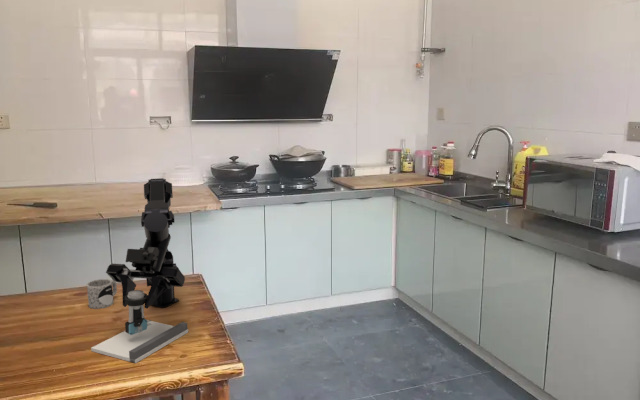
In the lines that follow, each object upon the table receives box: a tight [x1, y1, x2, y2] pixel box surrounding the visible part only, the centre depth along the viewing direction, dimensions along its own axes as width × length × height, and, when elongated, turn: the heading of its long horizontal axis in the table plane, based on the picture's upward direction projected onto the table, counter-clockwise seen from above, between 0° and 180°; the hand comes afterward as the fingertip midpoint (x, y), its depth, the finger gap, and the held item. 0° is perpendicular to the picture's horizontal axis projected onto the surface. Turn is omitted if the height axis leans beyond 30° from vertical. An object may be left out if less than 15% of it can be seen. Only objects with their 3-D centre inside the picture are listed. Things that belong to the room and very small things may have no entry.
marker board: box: [90, 319, 189, 364], centre depth 126 cm, size 18×14×2 cm
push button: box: [124, 289, 152, 335], centre depth 125 cm, size 7×5×10 cm
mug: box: [86, 278, 118, 310], centre depth 151 cm, size 10×7×7 cm
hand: (134, 306), depth 124 cm, fingers closed on push button, 5 cm apart
